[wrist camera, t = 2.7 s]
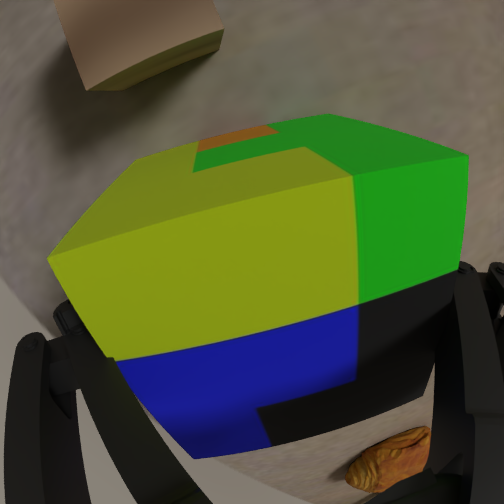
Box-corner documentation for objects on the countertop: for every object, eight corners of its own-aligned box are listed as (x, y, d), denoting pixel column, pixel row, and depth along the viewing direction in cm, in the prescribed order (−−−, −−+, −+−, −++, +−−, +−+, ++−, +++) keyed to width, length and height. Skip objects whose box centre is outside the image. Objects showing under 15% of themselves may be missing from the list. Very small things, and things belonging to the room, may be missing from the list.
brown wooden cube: (92, 12, 10) (49, -13, 6) (185, -29, 10) (178, -74, 6) (123, 90, 13) (86, 90, 8) (219, 49, 12) (224, 28, 8)
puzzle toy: (193, 312, 19) (193, 459, 11) (135, 159, 14) (46, 258, 6) (345, 273, 20) (422, 395, 11) (328, 113, 15) (468, 155, 6)
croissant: (406, 444, 44) (425, 475, 37) (333, 477, 40) (351, 514, 34) (441, 403, 37) (467, 438, 30) (360, 443, 33) (386, 490, 26)
